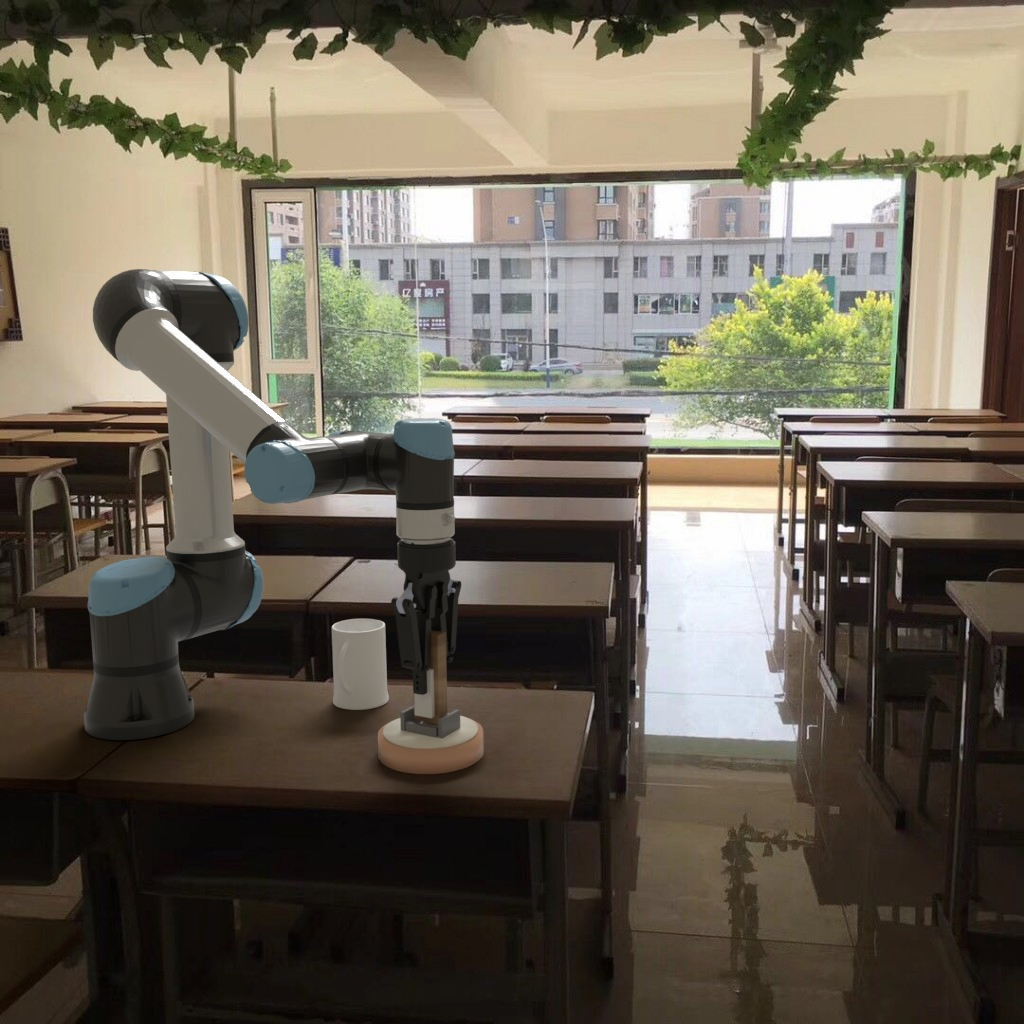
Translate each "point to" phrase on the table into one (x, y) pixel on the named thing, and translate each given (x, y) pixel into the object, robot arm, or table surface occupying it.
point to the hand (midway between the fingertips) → (430, 712)
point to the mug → (359, 664)
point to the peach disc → (430, 743)
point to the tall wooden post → (438, 676)
